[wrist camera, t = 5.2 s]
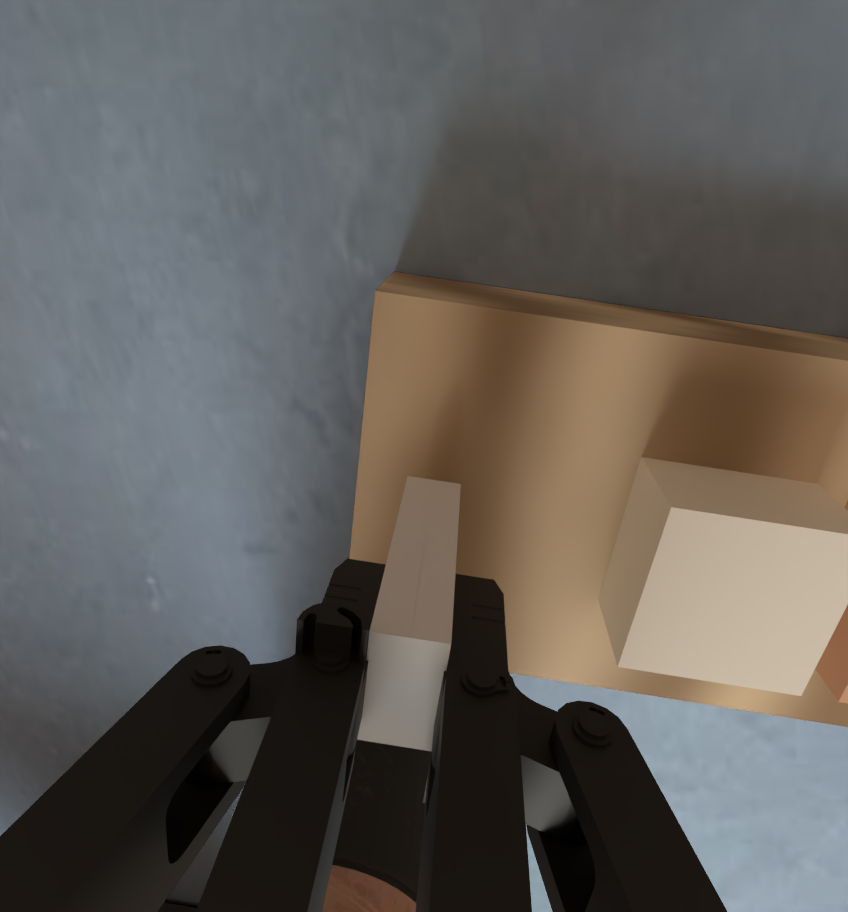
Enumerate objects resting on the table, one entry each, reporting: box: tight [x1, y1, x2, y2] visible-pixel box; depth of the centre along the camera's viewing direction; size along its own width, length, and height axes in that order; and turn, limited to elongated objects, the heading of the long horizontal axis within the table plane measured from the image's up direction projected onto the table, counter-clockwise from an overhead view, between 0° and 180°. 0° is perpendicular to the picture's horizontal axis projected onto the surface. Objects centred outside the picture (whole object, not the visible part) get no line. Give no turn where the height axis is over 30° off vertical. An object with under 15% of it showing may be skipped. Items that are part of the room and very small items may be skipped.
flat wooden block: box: [349, 272, 848, 727], centre depth 20 cm, size 20×12×4 cm, turn 83°
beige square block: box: [598, 457, 848, 696], centre depth 17 cm, size 5×5×3 cm
